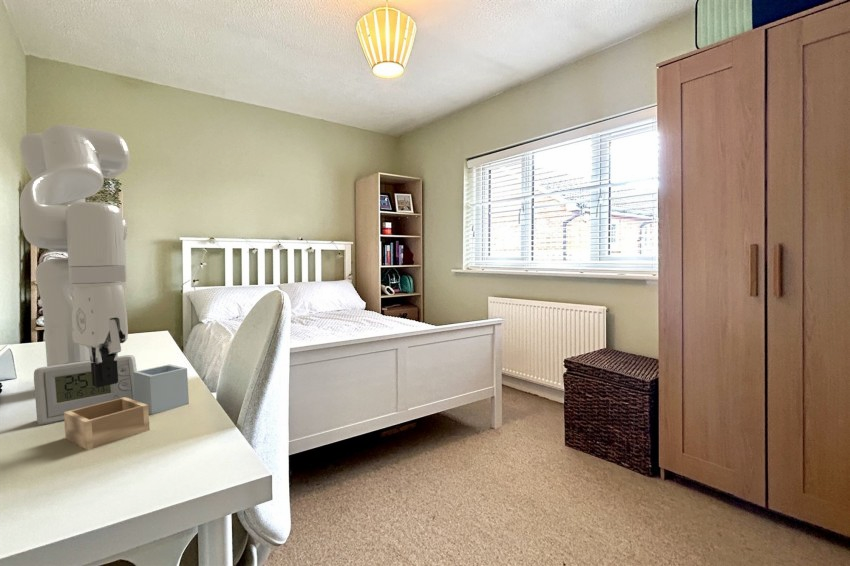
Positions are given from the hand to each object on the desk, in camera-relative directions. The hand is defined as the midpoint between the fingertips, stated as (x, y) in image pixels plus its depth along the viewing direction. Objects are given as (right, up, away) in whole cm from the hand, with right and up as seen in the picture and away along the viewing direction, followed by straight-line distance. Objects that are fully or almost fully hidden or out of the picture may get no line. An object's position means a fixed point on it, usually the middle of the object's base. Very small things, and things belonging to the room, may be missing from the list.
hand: (105, 384), depth 72 cm
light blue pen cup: (+1, -8, +14) cm, 17 cm away
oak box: (0, -9, 0) cm, 9 cm away
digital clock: (-12, -9, +12) cm, 19 cm away
